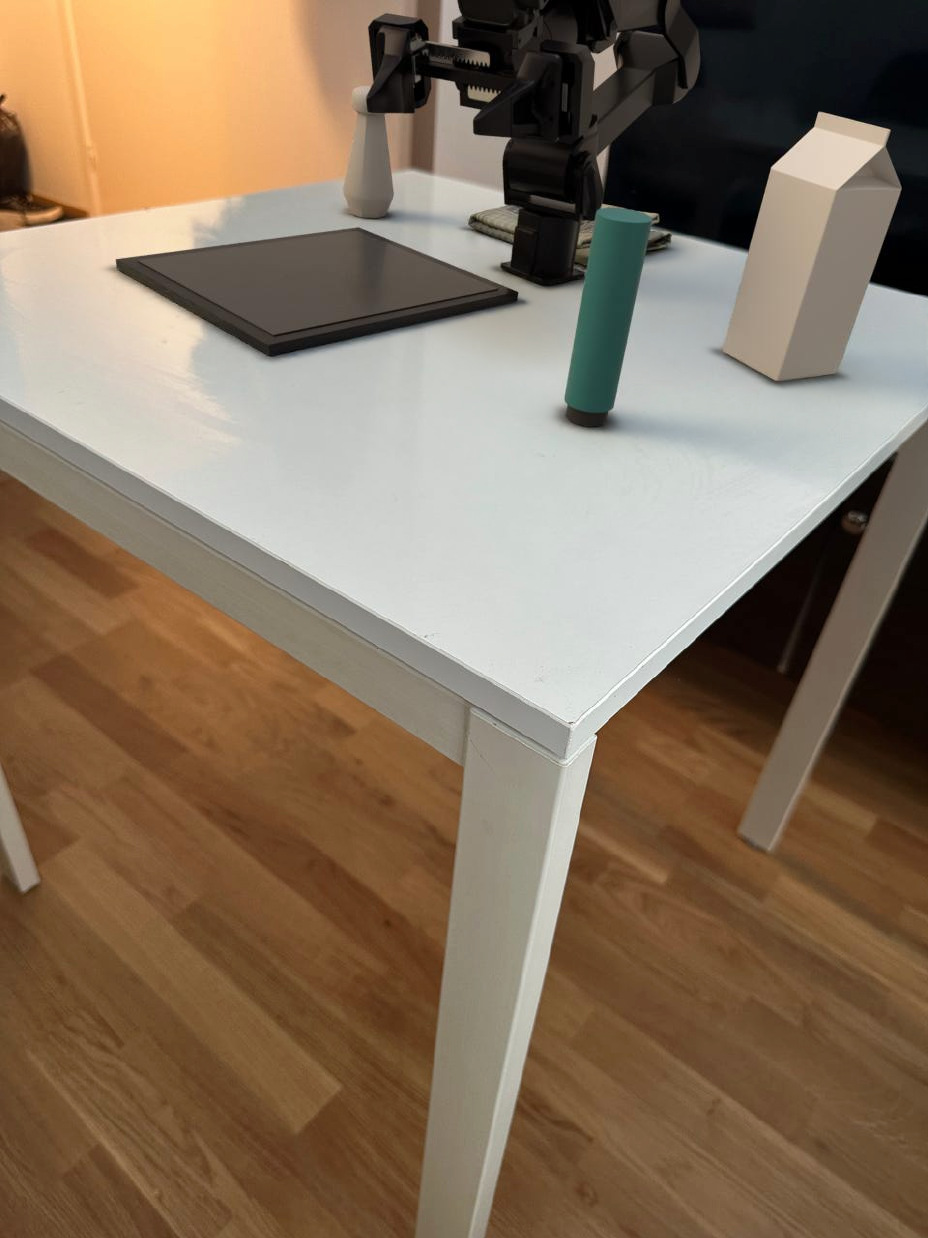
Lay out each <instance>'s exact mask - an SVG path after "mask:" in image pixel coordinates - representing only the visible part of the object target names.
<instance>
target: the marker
mask: <svg viewBox="0 0 928 1238" xmlns="http://www.w3.org/2000/svg"><path fill="white" fill-rule="evenodd" d="M621 208H622V207H621ZM621 208H602V209H599V210H597V212H596V217H595V223H594V229H593V235H592V241H591V246H590V252H589V258H588V264H587V266H586V270H585V275H584V281H583V288H582V293H581V299H580V306H579V310H578V316H577V323H576V329H575V334H574V339H573V347H572V351H571V356H570V357H571V358H570V362H569V363H570V364H569V369H568V375H567V381H566V387H565V393H564V399H563V400H564V402H565V404H566V411H565V417H566V419H567V420H569V422H572V423H573V424H576V425H578V426H583V427H591V428H592V427H600V426H603V425H605V424H606V423H607V420H608V416H609V412H610V411H612V410H613V409H614V407H615V402H616V397H617V393H618V387H619V383H620V378H621V373H622V369H623V364H624V359H625V355H626V354H625V353H626V348H627V344H628V340H629V335H630V330H631V324H632V320H633V316H634V310H635V305H636V300H637V296H638V291H639V286H640V281H641V277H642V272H643V267H644V262H645V259H646V258H645V257H646V252H647V250H646V248H647V243H648V239H649V234H650V231H651V230H650V229H652V225H651V224H652V218H651V217H650V216H648V215H647V214H644V213H641V212H642V211H640V212H638V211H639V210H634V209H628V208H625V209H621Z"/></svg>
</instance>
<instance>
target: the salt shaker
mask: <svg viewBox="0 0 928 1238" xmlns="http://www.w3.org/2000/svg"><path fill="white" fill-rule="evenodd" d="M371 86H372V85H361V86H356V87H355V88H354V89H353V90H352V93H351V98H350V99H351V101H350V102H351V108H352V110H354V111H355V112H356V113H357V114H356V119H355V124H354V131H353V136H352V141H351V145H350V146H351V147H350V151H349V157H348V161H347V162H348V163H347V166H346V172H345V177H344V183H343V187H342V192H343V195H344V196H343V197H344V198H345V201H346V204H347V207H348V210H349V213H350V215H352V216H356V217H359V218H362V219H363V218H364V219H380V218H383V217H385V216H386V215H387V213H388V210H389V209H390V206H391V204H392V201H393V200H394V195H395V191H394V181H393V175H392V166H391V165H392V164H391V157H390V149H389V140H388V131H387V121H386V114H387V113H370V112H368V111H367V104H366V96H367V94H368V92H369V90H370V88H371Z"/></svg>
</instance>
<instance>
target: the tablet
mask: <svg viewBox="0 0 928 1238" xmlns="http://www.w3.org/2000/svg"><path fill="white" fill-rule="evenodd" d="M115 267H116V270H117V271H119V272H121V273H123V274H125V275H126V276H128V277H130V278H132V279H134V280H135V281H137V282H138V283H140V284H142V285H144V286H146V287H148V288H149V289H151V290H152V291H154V292H156V293H158V294H159V295H161V296H163V297H165V298H167V299H169V300H170V301H172V302H174V303H175V304H177V305H179V306H181V307H182V308H184V309H186V310H188V311H190V312H191V313H193V314H195V315H196V316H199V317H200V318H201V319H203V320H205V321H207V322H209V323H211V324H212V325H214V326H216V327H218V328H219V329H221V330H222V331H224V332H226V333H228V334H230V335H232V336H233V337H235V338H237V339H238V340H240V341H242V342H244V343H245V344H248V345H249V346H251V347H252V348H253V349H254V348H255V349H256V350H257V351H260V352H262V354H265V355H267V356H269V357H272V356H276V355H281V354H285V353H289V352H295V351H299V350H304V349H308V348H312V347H317V346H321V345H322V346H323V345H325V344H330V343H336V342H339V341H340V342H341V341H344V340H348V339H349V340H350V339H353V338H357V337H362V336H367V335H371V334H376V333H380V332H384V331H390V330H393V329H398V328H402V327H407V326H411V325H416V324H420V323H425V322H430V321H434V320H438V319H439V320H440V319H443V318H449V317H452V316H456V315H461V314H465V313H466V314H467V313H470V312H474V311H475V312H476V311H479V310H484V309H488V308H493V307H497V306H502V305H507V304H510V303H515V302H518V301H519V293H520V292H519V291H518V290H516V289H513V288H510V287H508V286H505V285H503V284H500V283H498V282H495V281H493V280H490V279H488V278H485V277H483V276H480V275H478V274H475V273H473V272H471V271H468V270H466V269H463V268H461V267H458V266H456V265H453V264H451V263H448V262H446V261H444V260H441V259H438V258H436V257H434V256H431V255H428V254H426V253H423V252H421V251H419V250H416V249H413V248H411V247H408V246H406V245H403V244H401V243H399V242H397V241H394V240H391V239H388V238H386V237H384V236H381V235H379V234H376V233H375V232H372V231H369V230H366V229H364V228H361V227H359V226H357V227H350V228H349V227H348V228H343V229H335V230H328V231H320V232H312V233H303V234H297V235H290V236H289V235H288V236H281V237H274V238H267V239H259V240H251V241H243V242H235V243H228V244H221V245H212V246H206V247H198V248H197V247H196V248H191V249H189V248H188V249H183V250H175V251H167V252H160V253H152V254H144V255H137V256H130V257H121V258H116V259H115Z"/></svg>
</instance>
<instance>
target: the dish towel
mask: <svg viewBox="0 0 928 1238" xmlns="http://www.w3.org/2000/svg"><path fill="white" fill-rule="evenodd" d="M520 208H521V207H517V206H513V205H510V206H509V205H503V206H500V207H496V208H495V207H494V208H491V209H486V210H482V211H480V212H475V213H472V214H471V215H470V216H469V218H468V221H467V225H468V226H469V227H470V228H473V229H475V230H476V231H479V232H482V233H483V234H486V235H489V236H491V237H494V238H496V239H500V240H502V241H504V242H505V241H506V242H507V243H508V242H509V243H511V244H513V239H514V230H515V227H516V226H517V220H518V212H519V209H520ZM602 208H621V209H626V208H625V207H621V206H615V205H612V204H611V205H609V204H605V203H602V206H601V208H600V209H602ZM637 211H638V212H641V213H644V214H647V215H648V216H650V217H651V218H652V224H651V226H654V224H658V223H660V215H659V213H654V212H647V211H640V210H637ZM594 223H595V221H583V222H581V226H580V232H579V239H578V245H577V251H576V257H575V263H578V264H581V265H583V266H586V267H587V264H588V258H589V252H590V246H591V241H592V235H593V229H594ZM651 229H652V228H651ZM651 229H650V234H649V239H648V243H647V248H646V251H651V250H659V249H662V248H667V247H668V246H670V244H671V245H672V237H673V233H672V232H670V231H665V230H663V231H662V230H657V231H656V230H651Z"/></svg>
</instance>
